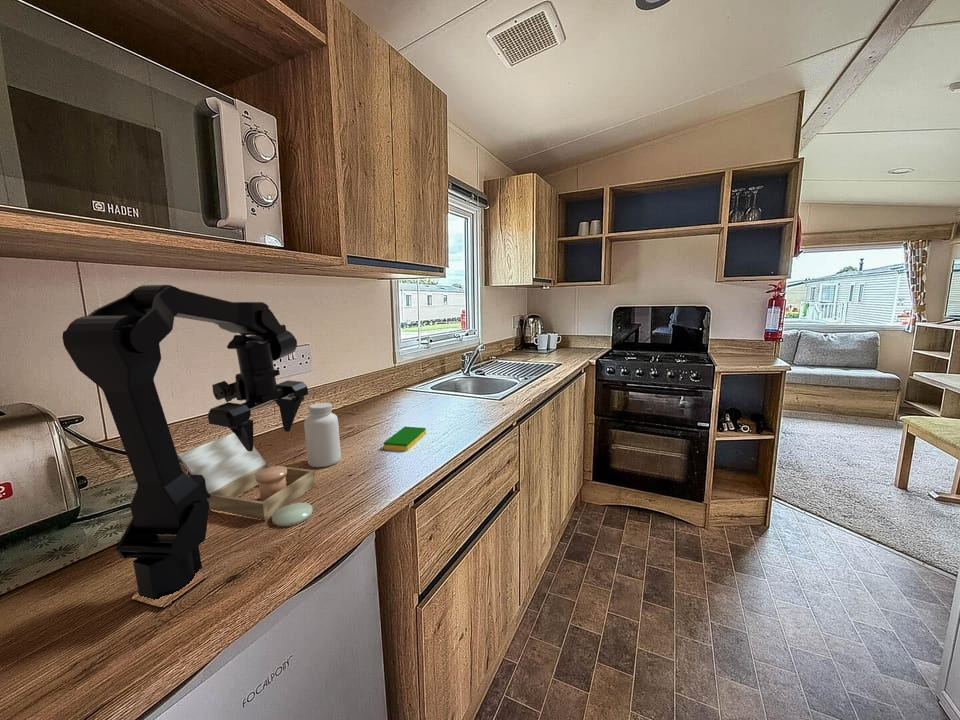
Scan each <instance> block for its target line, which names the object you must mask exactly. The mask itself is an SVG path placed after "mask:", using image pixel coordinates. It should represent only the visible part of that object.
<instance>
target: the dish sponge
mask: <svg viewBox="0 0 960 720" xmlns="http://www.w3.org/2000/svg"><path fill="white" fill-rule="evenodd" d="M425 434H426V435H427V429H426V427H420V426H418V427H416V426H403V427H402V428H401V429H399V430H398V431H397V432H395V433H394V434H393V435H392V436H390V437H389V438H387V440H385V441H384V442H383V448H384V449H383V450H386V451H387V450H388V451H399V452H408V451H409V450H411V448H413V447H414V446H415V445H416V444H417V443H418V442H419V441H421V440H422V439H423V438H424V437H423V436H424V435H425ZM426 435H425V436H426ZM412 446H413V447H412Z"/></svg>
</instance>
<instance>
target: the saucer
mask: <svg viewBox="0 0 960 720" xmlns="http://www.w3.org/2000/svg"><path fill="white" fill-rule="evenodd" d="M313 511H314V510H313V506H312V505H311V504H310V503H309V502H293V503H290V504H289V505H286V506H284V507H282V508H280V509H278V510H277V511H276V512H274V514H273V515H272V516H271V521H272V524H273V525H274V524H275V525H277V526H276V527H279V526H289V527H292V525H294V526H297V525H300V524H302V523H304V522H306V521H307V520H308V519H310V518H309V517H310V516H311V517H312V516H313V513H312V512H313ZM305 520H306V521H305ZM303 521H304V522H303ZM301 522H302V523H301ZM299 523H300V524H299ZM296 524H297V525H296ZM275 525H274V526H275Z"/></svg>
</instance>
